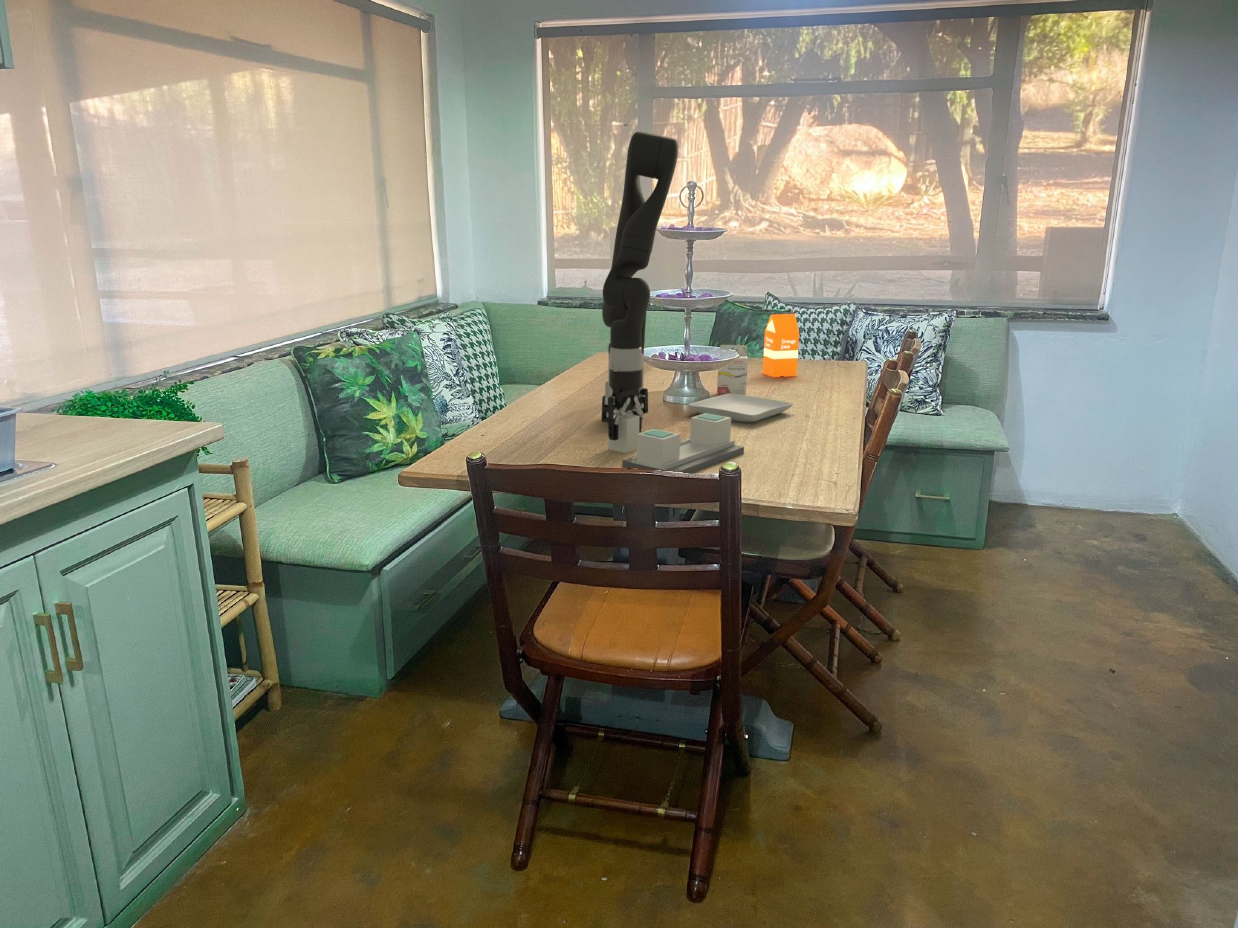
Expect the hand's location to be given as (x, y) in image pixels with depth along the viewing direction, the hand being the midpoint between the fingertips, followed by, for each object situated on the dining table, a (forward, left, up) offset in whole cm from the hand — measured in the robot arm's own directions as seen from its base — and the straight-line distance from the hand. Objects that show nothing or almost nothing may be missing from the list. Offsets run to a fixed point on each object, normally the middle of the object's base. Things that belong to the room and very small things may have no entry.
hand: (625, 436), depth 208 cm
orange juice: (-20, +107, -3) cm, 109 cm away
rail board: (+16, +2, -3) cm, 16 cm away
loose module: (0, 0, -3) cm, 3 cm away
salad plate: (+1, +49, -4) cm, 49 cm away
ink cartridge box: (-14, +68, -3) cm, 70 cm away
